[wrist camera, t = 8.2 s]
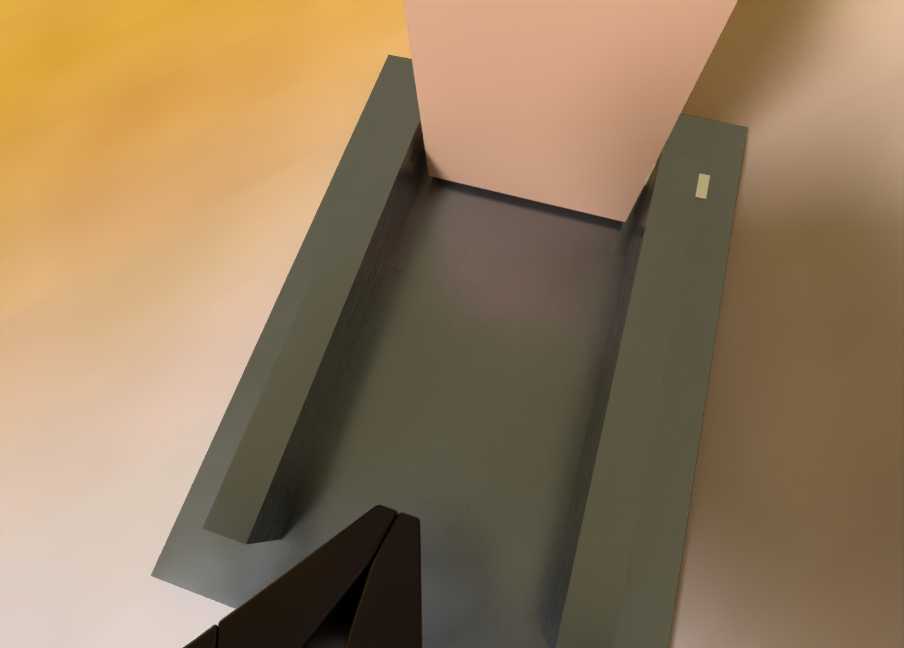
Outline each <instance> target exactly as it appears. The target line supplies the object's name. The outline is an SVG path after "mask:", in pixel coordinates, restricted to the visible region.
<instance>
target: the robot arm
mask: <svg viewBox="0 0 904 648" xmlns="http://www.w3.org/2000/svg"><path fill="white" fill-rule="evenodd" d="M183 648H422V589H421V527H420V519H419V518H418V517H415V516H412V515H409V514H406V513H403V512H401V513H399V514H398V512H397V511H396V510H395V509H392V508H389V507H386V506H383V505H376V506H375V507H373V508H372V509H370V510H369V511H368V512H366V513H365V514H364V515H362V516H361V517H360V518H358V519H357V520H356V521H354V522H353V523H352V524H350V525H349V526H347V527H346V528H345V529H343V530H342V531H341V532H339V533H338V534H337V535H335V536H334V537H333V538H331V539H330V540H329V541H327V542H326V543H324V544H323V545H322V546H320V547H319V548H318V549H316V550H315V551H314V552H312V553H311V554H310V555H308V556H307V557H306V558H304V559H303V560H301V561H300V562H299V563H297V564H296V565H295V566H293V567H292V568H291V569H289V570H288V571H287V572H285V573H284V574H283V575H281V576H280V577H279V578H277V579H276V580H274V581H273V582H272V583H270V584H269V585H268V586H266V587H265V588H264V589H262V590H261V591H260V592H258V593H257V594H256V595H254V596H253V597H251V598H250V599H249V600H247V601H246V602H245V603H243V604H242V605H241V606H239V607H238V608H237V609H235V610H234V611H233V612H231V613H230V614H228V615H227V616H226V617H224V618H223V619H222V620H220V621H219V623H218V626H217V625H213V626H212V627H211V628H209V629H208V630H207V631H205V632H204V633H202V634H201V635H200V636H198V637H197V638H196V639H194V640H193V641H192V642H190V643H189V644H187V645H186V646H185V647H183Z"/></svg>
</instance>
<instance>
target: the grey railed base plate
mask: <svg viewBox="0 0 904 648" xmlns="http://www.w3.org/2000/svg"><path fill="white" fill-rule="evenodd" d="M746 132H747V127H744V126H739V125H734V124H729V123H724V122H719V121H714V120H709V119H704V118H700V117H695V116H690V115H685V114H680V115H679V117H678V119H677V121H676V123H675V125H674V127H673V129H672V131H671V133H670V135H669V137H668V139H667V141H666V143H665V145H664V147H663V149H662V151H661V153H660V155H659V157H658V159H657V161H656V163H655V165H654V167H653V169H652V171H651V172H650V174H649V176H648V178H647V180H646V182H645V184H644V186H643V188H642V190H641V192H640V194H639V196H638V198H637V200H636V202H635V204H634V206H633V208H632V210H631V212H630V214H629V216H628V218H627V220H626V222H623V221H618V220H614V219H610V218H606V217H601V216H597V215H593V214H589V213H584V212H580V211H576V210H572V209H567V208H563V207H559V206H555V205H550V204H546V203H542V202H538V201H533V200H529V199H525V198H521V197H517V196H512V195H508V194H504V193H500V192H495V191H491V190H487V189H483V188H478V187H474V186H470V185H466V184H461V183H457V182H453V181H449V180H444V179H440V178H436V177H432V176H429V173H428V166H427V159H426V153H425V146H424V139H423V132H422V125H421V119H420V112H419V105H418V98H417V91H416V84H415V78H414V71H413V64H412V59H408V58H403V57H398V56H393V55H388V57H387V60H386V62H385V64H384V66H383V68H382V70H381V73H380V75H379V77H378V79H377V81H376V84H375V86H374V88H373V90H372V92H371V95H370V97H369V99H368V101H367V103H366V106H365V108H364V110H363V112H362V114H361V116H360V119H359V121H358V123H357V125H356V127H355V130H354V132H353V134H352V136H351V138H350V141H349V143H348V145H347V147H346V149H345V151H344V154H343V156H342V158H341V160H340V162H339V165H338V167H337V169H336V171H335V173H334V176H333V178H332V180H331V182H330V184H329V187H328V189H327V191H326V193H325V195H324V197H323V200H322V202H321V204H320V206H319V208H318V211H317V213H316V215H315V217H314V219H313V222H312V224H311V226H310V228H309V230H308V233H307V235H306V237H305V239H304V241H303V243H302V246H301V248H300V250H299V252H298V254H297V257H296V259H295V261H294V263H293V265H292V268H291V270H290V272H289V274H288V276H287V278H286V281H285V283H284V285H283V287H282V289H281V292H280V294H279V296H278V298H277V300H276V303H275V305H274V307H273V309H272V311H271V314H270V316H269V318H268V320H267V322H266V324H265V327H264V329H263V331H262V333H261V335H260V338H259V340H258V342H257V344H256V346H255V349H254V351H253V353H252V355H251V357H250V360H249V362H248V364H247V366H246V368H245V370H244V373H243V375H242V377H241V379H240V381H239V384H238V386H237V388H236V390H235V392H234V395H233V397H232V399H231V401H230V403H229V405H228V408H227V410H226V412H225V414H224V416H223V419H222V421H221V423H220V425H219V427H218V430H217V432H216V434H215V436H214V438H213V441H212V443H211V445H210V447H209V449H208V451H207V454H206V456H205V458H204V460H203V462H202V465H201V467H200V469H199V471H198V473H197V476H196V478H195V480H194V482H193V484H192V487H191V489H190V491H189V493H188V495H187V497H186V500H185V502H184V504H183V506H182V508H181V511H180V513H179V515H178V517H177V519H176V522H175V524H174V526H173V528H172V530H171V532H170V535H169V537H168V539H167V541H166V543H165V546H164V548H163V550H162V552H161V554H160V557H159V559H158V561H157V563H156V565H155V568H154V570H153V572H152V574H151V576H153V577H155V578H158V579H161V580H163V581H166V582H168V583H171V584H174V585H176V586H179V587H181V588H184V589H186V590H189V591H192V592H194V593H197V594H199V595H202V596H205V597H207V598H210V599H212V600H215V601H217V602H220V603H223V604H225V605H228V606H230V607H233V608H236V609H237V608H238V607H239V606H241V605H242V604H243V603H245V602H246V601H247V600H249V599H250V598H251V597H253V596H254V595H256V594H257V593H258V592H260V591H261V590H262V589H264V588H265V587H266V586H268V585H269V584H270V583H272V582H273V581H274V580H276V579H277V578H279V577H280V576H281V575H283V574H284V573H285V572H287V571H288V570H289V569H291V568H292V567H293V566H295V565H296V564H297V563H299V562H300V561H301V560H303V559H304V558H306V557H307V556H308V555H310V554H311V553H312V552H314V551H315V550H316V549H318V548H319V547H320V546H322V545H323V544H324V543H326V542H327V541H329V540H330V539H331V538H333V537H334V536H335V535H337V534H338V533H339V532H341V531H342V530H343V529H345V528H346V527H347V526H349V525H350V524H352V523H353V522H354V521H356V520H357V519H358V518H360V517H361V516H362V515H364V514H365V513H366V512H368V511H369V510H370V509H372V508H373V507H375V506H376V505H383V506H386V507H389V508H392V509H395V510H396V511H397V512H398V514H399V513H401V512H403V513H406V514H409V515H412V516H415V517H418V518H419V519H420V527H421V589H422V648H668V644H669V638H670V631H671V625H672V618H673V611H674V605H675V598H676V592H677V585H678V579H679V572H680V565H681V559H682V552H683V546H684V539H685V533H686V526H687V519H688V513H689V506H690V500H691V493H692V487H693V480H694V473H695V467H696V460H697V454H698V447H699V441H700V434H701V427H702V421H703V414H704V408H705V401H706V395H707V388H708V381H709V375H710V368H711V362H712V355H713V348H714V342H715V335H716V329H717V322H718V316H719V309H720V302H721V296H722V289H723V283H724V276H725V270H726V263H727V256H728V250H729V243H730V237H731V230H732V224H733V217H734V210H735V204H736V197H737V191H738V184H739V178H740V171H741V164H742V158H743V151H744V145H745V138H746Z"/></svg>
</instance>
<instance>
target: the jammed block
mask: <svg viewBox="0 0 904 648" xmlns="http://www.w3.org/2000/svg"><path fill="white" fill-rule="evenodd" d="M737 1H738V0H403V3H404V10H405V16H406V23H407V30H408V37H409V44H410V50H411V57H412V64H413V71H414V78H415V84H416V91H417V98H418V105H419V112H420V119H421V125H422V132H423V139H424V146H425V153H426V159H427V166H428V173H429V176H432V177H436V178H440V179H444V180H449V181H453V182H457V183H461V184H466V185H470V186H474V187H478V188H483V189H487V190H491V191H495V192H500V193H504V194H508V195H512V196H517V197H521V198H525V199H529V200H533V201H538V202H542V203H546V204H550V205H555V206H559V207H563V208H567V209H572V210H576V211H580V212H584V213H589V214H593V215H597V216H601V217H606V218H610V219H614V220H618V221H623V222H626V220H627V218H628V216H629V214H630V212H631V210H632V208H633V206H634V204H635V202H636V200H637V198H638V196H639V194H640V192H641V190H642V188H643V186H644V184H645V182H646V180H647V178H648V176H649V174H650V172H651V171H652V169H653V167H654V165H655V163H656V161H657V159H658V157H659V155H660V153H661V151H662V149H663V147H664V145H665V143H666V141H667V139H668V137H669V135H670V133H671V131H672V129H673V127H674V125H675V123H676V121H677V119H678V117H679V115H680V113H681V111H682V109H683V107H684V105H685V103H686V102H687V100H688V98H689V96H690V94H691V92H692V90H693V88H694V86H695V84H696V82H697V80H698V78H699V76H700V74H701V72H702V70H703V68H704V66H705V64H706V62H707V60H708V58H709V56H710V54H711V52H712V50H713V48H714V46H715V44H716V42H717V40H718V38H719V36H720V34H721V32H722V31H723V29H724V27H725V25H726V23H727V21H728V19H729V17H730V15H731V13H732V11H733V9H734V7H735V5H736V3H737Z"/></svg>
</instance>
